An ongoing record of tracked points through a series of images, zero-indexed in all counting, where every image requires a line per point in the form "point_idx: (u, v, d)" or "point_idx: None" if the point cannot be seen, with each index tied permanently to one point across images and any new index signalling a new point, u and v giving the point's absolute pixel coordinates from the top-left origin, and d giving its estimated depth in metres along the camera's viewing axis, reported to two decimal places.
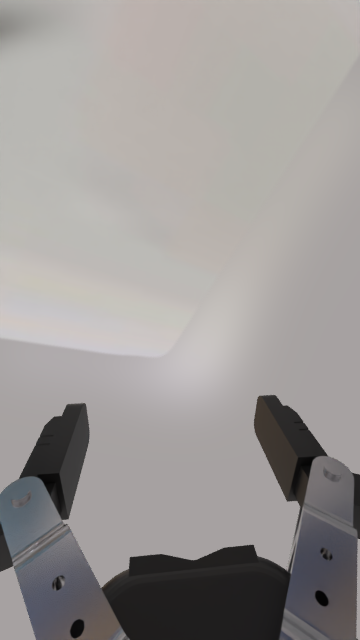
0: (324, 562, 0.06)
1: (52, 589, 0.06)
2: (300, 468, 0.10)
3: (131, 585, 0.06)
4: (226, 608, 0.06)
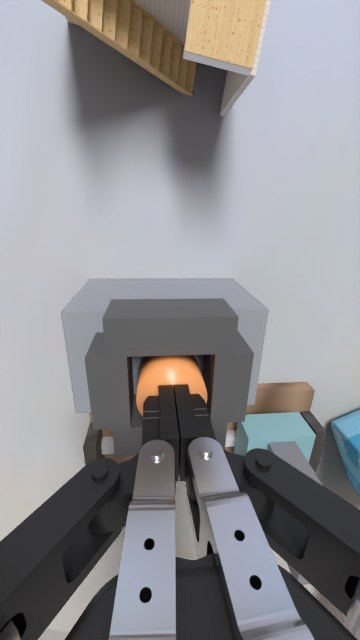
0: (241, 543, 0.06)
1: (143, 546, 0.06)
2: (186, 449, 0.10)
3: None
4: (226, 608, 0.06)
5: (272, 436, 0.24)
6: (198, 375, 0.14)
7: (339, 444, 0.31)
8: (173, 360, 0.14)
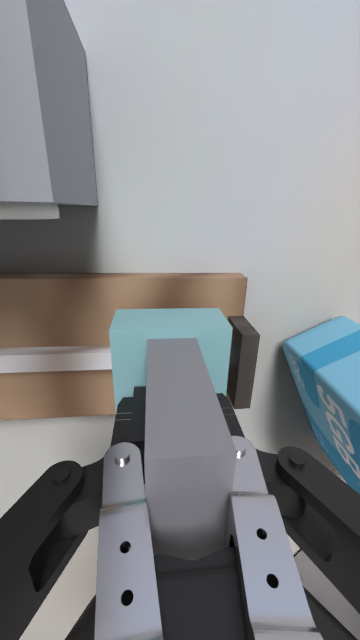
0: (263, 542, 0.07)
1: (119, 550, 0.06)
2: None
3: None
4: (226, 608, 0.06)
5: (153, 328, 0.13)
6: None
7: (296, 378, 0.21)
8: None
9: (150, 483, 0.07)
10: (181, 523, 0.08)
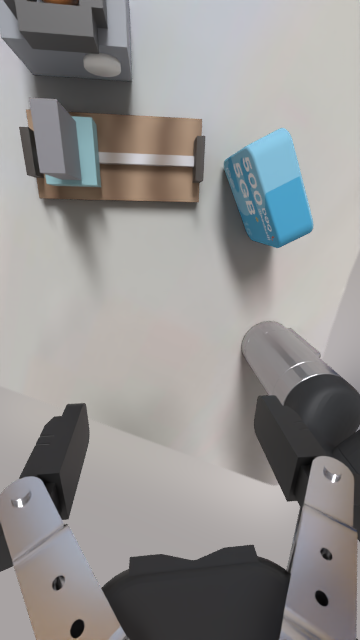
0: (324, 562, 0.06)
1: (52, 589, 0.06)
2: (300, 468, 0.10)
3: (131, 585, 0.06)
4: (226, 608, 0.06)
5: None
6: None
7: (232, 187, 0.40)
8: None
9: (32, 109, 0.25)
10: (45, 132, 0.26)
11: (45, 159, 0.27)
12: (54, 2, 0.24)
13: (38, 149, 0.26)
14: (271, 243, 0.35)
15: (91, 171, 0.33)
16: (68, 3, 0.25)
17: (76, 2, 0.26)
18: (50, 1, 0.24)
